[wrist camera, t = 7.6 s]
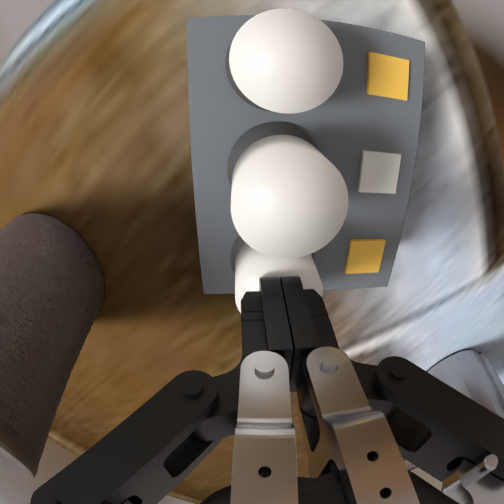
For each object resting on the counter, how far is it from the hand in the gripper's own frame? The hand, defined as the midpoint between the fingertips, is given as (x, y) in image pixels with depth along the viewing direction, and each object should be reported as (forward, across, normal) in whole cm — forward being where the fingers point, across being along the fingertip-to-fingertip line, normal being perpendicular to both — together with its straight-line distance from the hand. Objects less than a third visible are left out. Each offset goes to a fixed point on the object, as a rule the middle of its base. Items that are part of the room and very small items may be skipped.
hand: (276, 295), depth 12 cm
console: (+7, -2, -4) cm, 8 cm away
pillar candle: (+7, +15, +3) cm, 17 cm away
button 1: (+2, 0, 0) cm, 2 cm away
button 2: (+2, 0, -8) cm, 9 cm away
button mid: (+1, 0, -4) cm, 4 cm away
